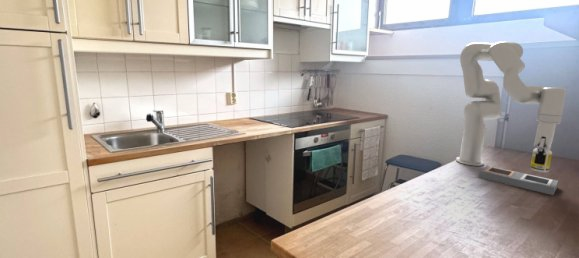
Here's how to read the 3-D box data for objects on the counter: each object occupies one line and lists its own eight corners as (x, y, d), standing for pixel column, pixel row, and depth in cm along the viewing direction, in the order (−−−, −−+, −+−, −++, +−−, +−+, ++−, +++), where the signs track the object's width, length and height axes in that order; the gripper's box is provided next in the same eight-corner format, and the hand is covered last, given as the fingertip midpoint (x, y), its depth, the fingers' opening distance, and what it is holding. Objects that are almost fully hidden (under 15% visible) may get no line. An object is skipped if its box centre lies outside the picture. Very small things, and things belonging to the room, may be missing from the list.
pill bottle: (542, 168, 133) (546, 142, 131) (552, 173, 127) (557, 146, 125) (526, 167, 134) (530, 142, 132) (536, 172, 128) (541, 145, 126)
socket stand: (486, 171, 150) (487, 164, 149) (556, 187, 132) (558, 180, 131) (478, 177, 142) (479, 170, 141) (553, 195, 124) (554, 187, 123)
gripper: (540, 115, 135) (533, 156, 138) (533, 119, 123) (525, 164, 126) (563, 118, 130) (555, 160, 133) (558, 122, 118) (549, 168, 121)
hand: (540, 161), depth 130 cm, fingers closed on pill bottle, 6 cm apart
